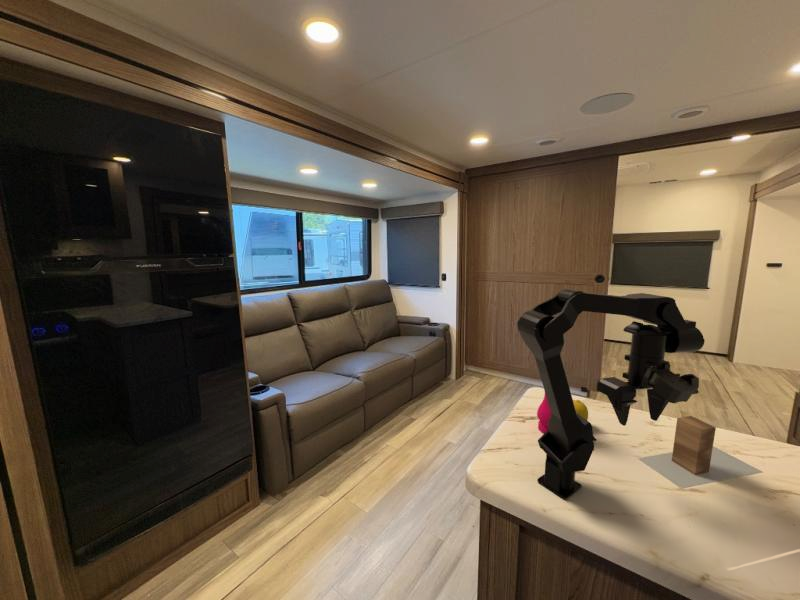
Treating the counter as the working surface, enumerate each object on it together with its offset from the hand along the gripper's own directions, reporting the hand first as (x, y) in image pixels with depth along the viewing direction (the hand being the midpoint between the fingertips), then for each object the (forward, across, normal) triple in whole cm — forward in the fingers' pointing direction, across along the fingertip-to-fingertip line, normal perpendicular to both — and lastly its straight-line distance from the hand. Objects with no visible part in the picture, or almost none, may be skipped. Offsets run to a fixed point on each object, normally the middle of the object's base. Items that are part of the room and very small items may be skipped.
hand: (638, 422), depth 69 cm
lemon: (+13, +3, +20) cm, 24 cm away
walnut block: (+12, +15, -1) cm, 20 cm away
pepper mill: (+13, -6, +20) cm, 25 cm away
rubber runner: (+13, +18, -1) cm, 22 cm away
